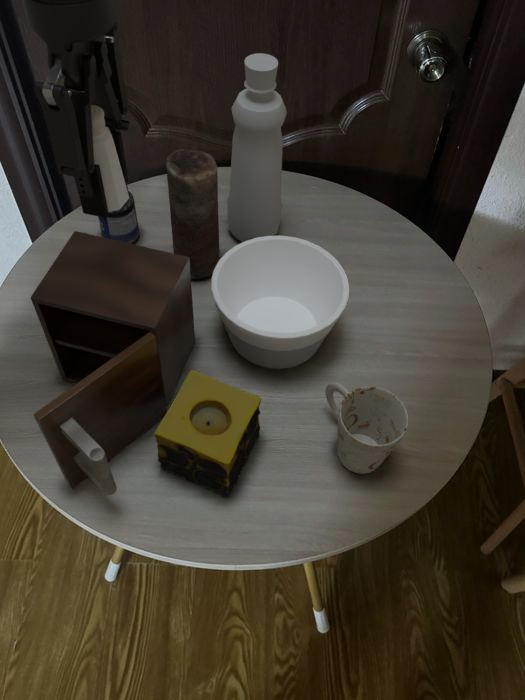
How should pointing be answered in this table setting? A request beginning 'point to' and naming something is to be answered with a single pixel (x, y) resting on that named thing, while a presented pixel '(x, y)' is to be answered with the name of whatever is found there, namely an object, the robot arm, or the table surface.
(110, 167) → the salt shaker
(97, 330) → the cabinet
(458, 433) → the table surface
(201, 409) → the candle
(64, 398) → the door
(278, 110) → the bottle
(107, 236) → the pill bottle
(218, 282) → the bowl
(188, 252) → the candle
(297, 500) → the table surface
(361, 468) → the mug
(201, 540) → the table surface
